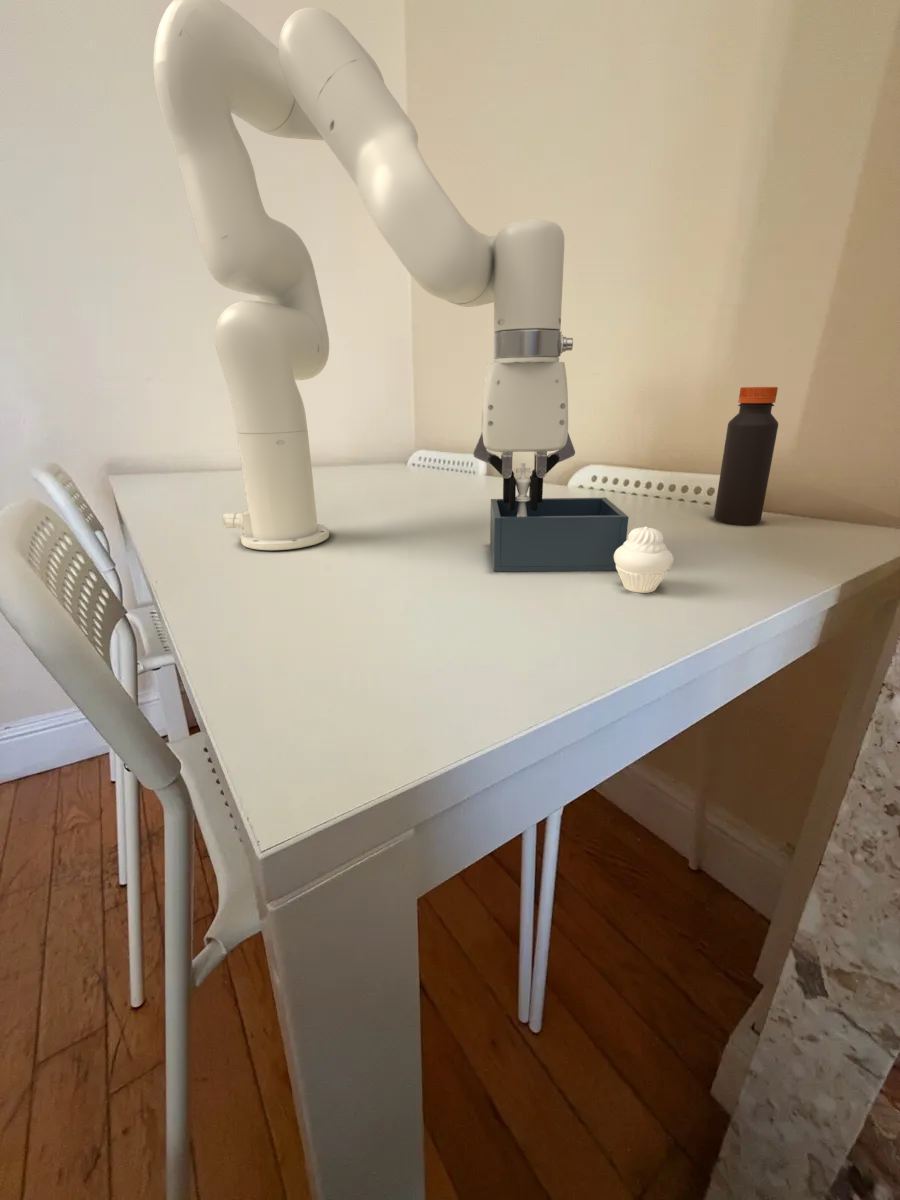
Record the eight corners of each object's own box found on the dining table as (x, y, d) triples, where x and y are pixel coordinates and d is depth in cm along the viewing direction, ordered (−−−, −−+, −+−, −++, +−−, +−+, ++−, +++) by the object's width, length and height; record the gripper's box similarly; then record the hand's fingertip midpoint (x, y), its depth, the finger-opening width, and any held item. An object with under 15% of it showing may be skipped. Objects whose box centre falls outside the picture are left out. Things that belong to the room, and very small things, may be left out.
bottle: (707, 515, 94) (726, 387, 87) (750, 516, 94) (773, 386, 86) (721, 525, 88) (743, 387, 81) (767, 526, 87) (794, 387, 80)
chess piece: (543, 547, 71) (546, 465, 68) (503, 547, 71) (504, 466, 68) (537, 537, 76) (540, 460, 72) (500, 537, 76) (501, 461, 72)
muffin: (668, 601, 59) (676, 535, 56) (607, 594, 61) (613, 530, 59) (670, 582, 64) (678, 521, 62) (614, 576, 66) (619, 517, 64)
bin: (493, 571, 69) (494, 518, 67) (490, 545, 80) (490, 498, 77) (623, 570, 68) (628, 516, 66) (602, 544, 79) (606, 497, 77)
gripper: (589, 350, 69) (580, 501, 75) (457, 352, 69) (459, 503, 76) (603, 346, 62) (591, 514, 68) (456, 349, 62) (458, 515, 69)
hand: (522, 507), depth 72 cm, fingers closed on chess piece
